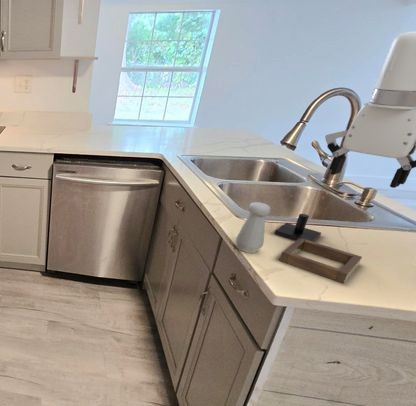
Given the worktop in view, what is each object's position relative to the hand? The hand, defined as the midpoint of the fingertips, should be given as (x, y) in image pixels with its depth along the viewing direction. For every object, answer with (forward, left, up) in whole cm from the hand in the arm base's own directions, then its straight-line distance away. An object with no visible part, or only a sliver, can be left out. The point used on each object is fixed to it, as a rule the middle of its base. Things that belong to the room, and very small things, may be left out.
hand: (363, 179), depth 79 cm
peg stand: (+10, -13, -22) cm, 27 cm away
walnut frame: (+2, 0, -22) cm, 22 cm away
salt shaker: (+15, +6, -22) cm, 27 cm away
